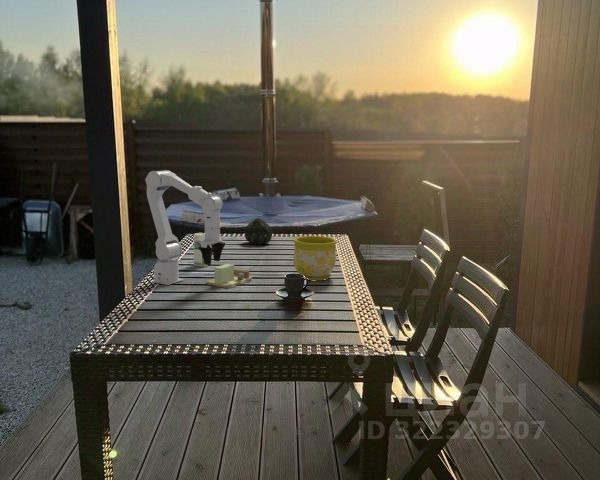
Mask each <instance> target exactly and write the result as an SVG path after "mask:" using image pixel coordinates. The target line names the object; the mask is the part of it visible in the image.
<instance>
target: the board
mask: <svg viewBox="0 0 600 480" xmlns="http://www.w3.org/2000/svg"><path fill="white" fill-rule="evenodd" d="M252 280H253V277H252V276H250V271H249V270H243V269H237V268H234V280H231V281H228V282H225V283H222V284H221V283H216V282H214V278H213V279H208V280H206V281H205V285H208V286H214V287H218V288H225V289H231V288H233V287H236V286H239V285H242V284H245V283H247V282H252Z"/></svg>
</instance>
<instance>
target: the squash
mask: <svg viewBox="0 0 600 480" xmlns="http://www.w3.org/2000/svg"><path fill="white" fill-rule="evenodd" d="M244 237H245V240H246V241H247V242H249V243H250V244H252V245H255V246H256V245H258V246H261V245H266V244H268V243H269V242H271V240H272V238H273V230H272V228H271V226H270V224H269V223H267V222H266V221H264V220H263V219H261V218H256V219H253V220H252V221H251V222H249V223H247V226H246V227H245V229H244Z"/></svg>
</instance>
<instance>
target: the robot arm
mask: <svg viewBox="0 0 600 480" xmlns="http://www.w3.org/2000/svg"><path fill="white" fill-rule="evenodd" d="M144 180H145V183H146V197H147V201H148V205H149V208H150V212H151V215H152V219H153V223H154V227H155V229H156V232H157V233H156V234H157V237H158V238H157V240H156V241H155V254H156V257H157V258H158V260H159V261H158V262H156V263H155V264H154V266H153V275H154V276H153V277H154V278H153V280H152V282H153V283H157V284H160V285H166V286H168V285H172V284H176V283H178V282H182V281H184V278H180V277H179V274H180V273H179V272H180V271H179V269H180V268H179V259H180V256H181V254H182V253H183V247H182V245H181V243H180V242H179V239H178V237H177V236H176V235H174V234H173V233H172V232H173V231H172V228H171V224H170V221H169V218H168V214H167V210H166V206H165V204H164V203H165V202H164V199H163V195H164V193H165V191H167V189H168V188H170V187H173V188H175V189H177V190H179V191H181V192H182V193H185V194H187V195H188V200H191V201H192V202H193V203H195V204H197V205H199V206H201V208H202V210H203V215H204V233H205V239H204V240H203V242H201V246H199V250H200V251H201V253H202V256H203V259H204V263H205V265H209V266H211V265H212V258H213V261H214V262H220V260H221V256H222V253H223V249H224V247H225V246H226V242H224V236H222V235H221V210H222V208H223V207H224V202H223V199H222V198H221V197H220V196H219V195H213V194H212V192H208V191H206V190H205V189H203V187H202V186H199V185H195V186H192V185H190V183H188V182H186V181H185V180H183V179H182V178H181V177H179V176H177V174H176V173H174V172H172V171H170V170H168V169H164V170H156V171H155V170H151V171H149V172H148V174H147V176H146V178H145V179H144ZM210 245H211V247H210ZM212 256H213V257H212Z"/></svg>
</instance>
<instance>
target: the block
mask: <svg viewBox="0 0 600 480" xmlns="http://www.w3.org/2000/svg"><path fill="white" fill-rule="evenodd" d="M234 269H235V265H234V264H229V263H225V264H222V265H219V266H214V269H213V270H214V278H213V279H214V282H216V283H221V284H222V283H225V282H228V281H231V280H234Z"/></svg>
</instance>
